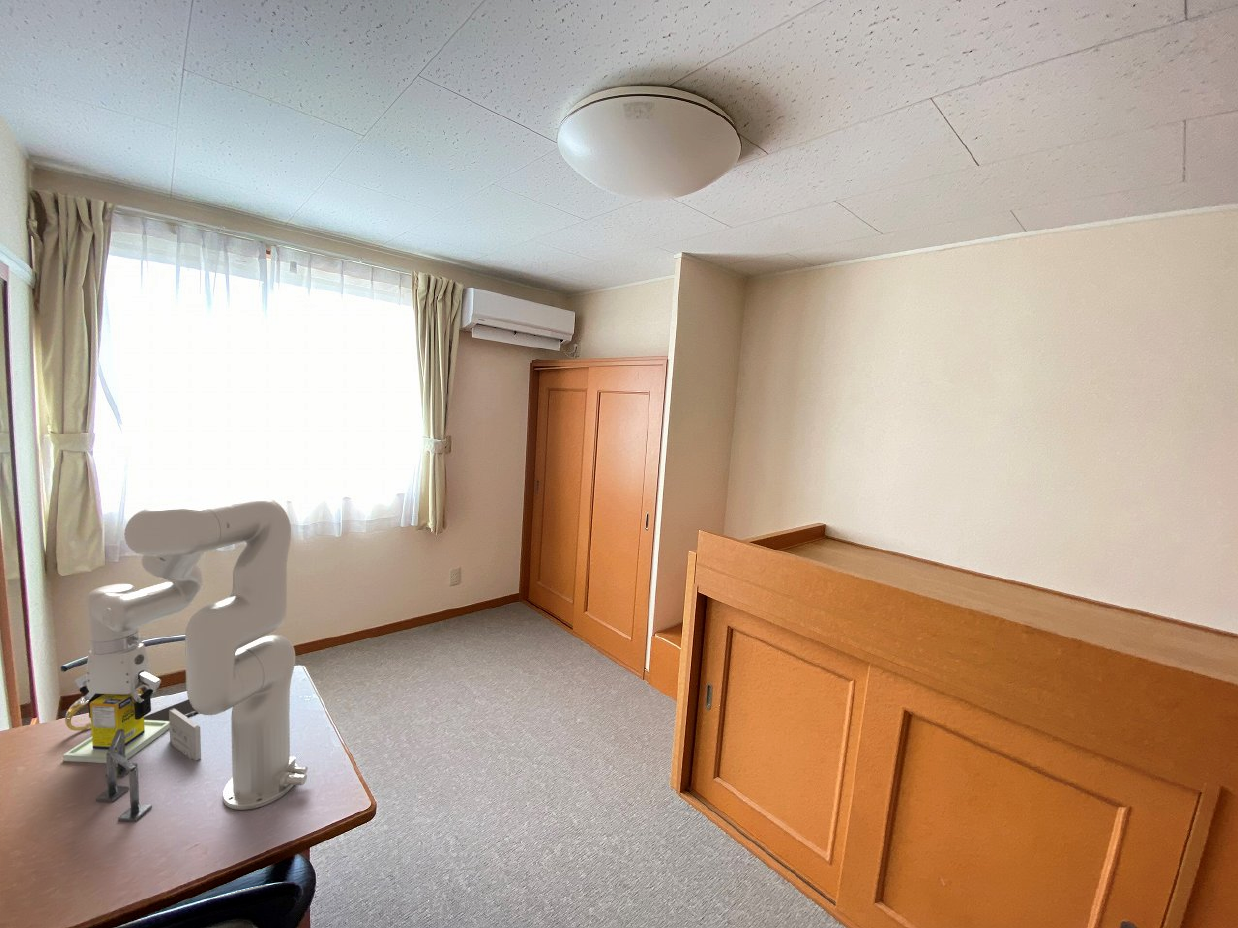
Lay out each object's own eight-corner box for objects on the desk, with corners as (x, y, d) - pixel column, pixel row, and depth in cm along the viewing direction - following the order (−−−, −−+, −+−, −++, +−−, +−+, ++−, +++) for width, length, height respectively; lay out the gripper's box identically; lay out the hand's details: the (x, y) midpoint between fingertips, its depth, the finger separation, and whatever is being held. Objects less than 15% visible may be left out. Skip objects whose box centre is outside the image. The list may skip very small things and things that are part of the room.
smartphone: (121, 724, 115) (206, 691, 128) (121, 728, 115) (206, 695, 128) (132, 737, 111) (218, 702, 124) (132, 741, 111) (218, 706, 125)
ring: (68, 739, 109) (65, 706, 108) (64, 733, 111) (62, 700, 110) (111, 723, 115) (110, 691, 114) (107, 718, 117) (106, 686, 116)
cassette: (204, 757, 107) (203, 725, 106) (193, 762, 106) (192, 729, 105) (177, 737, 113) (176, 706, 112) (166, 742, 111) (165, 710, 110)
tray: (171, 726, 116) (171, 721, 116) (121, 763, 104) (121, 757, 104) (119, 723, 115) (119, 718, 115) (63, 760, 103) (62, 754, 103)
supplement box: (145, 732, 112) (143, 687, 111) (119, 750, 106) (117, 704, 105) (119, 731, 112) (116, 686, 111) (91, 749, 106) (88, 702, 105)
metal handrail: (154, 813, 93) (152, 767, 92) (104, 835, 88) (101, 787, 86) (135, 760, 105) (133, 718, 104) (90, 777, 100) (87, 733, 99)
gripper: (171, 635, 111) (175, 706, 113) (92, 632, 110) (98, 703, 112) (140, 651, 103) (144, 727, 105) (55, 648, 103) (61, 724, 105)
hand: (120, 714), depth 109 cm, fingers open, 9 cm apart
